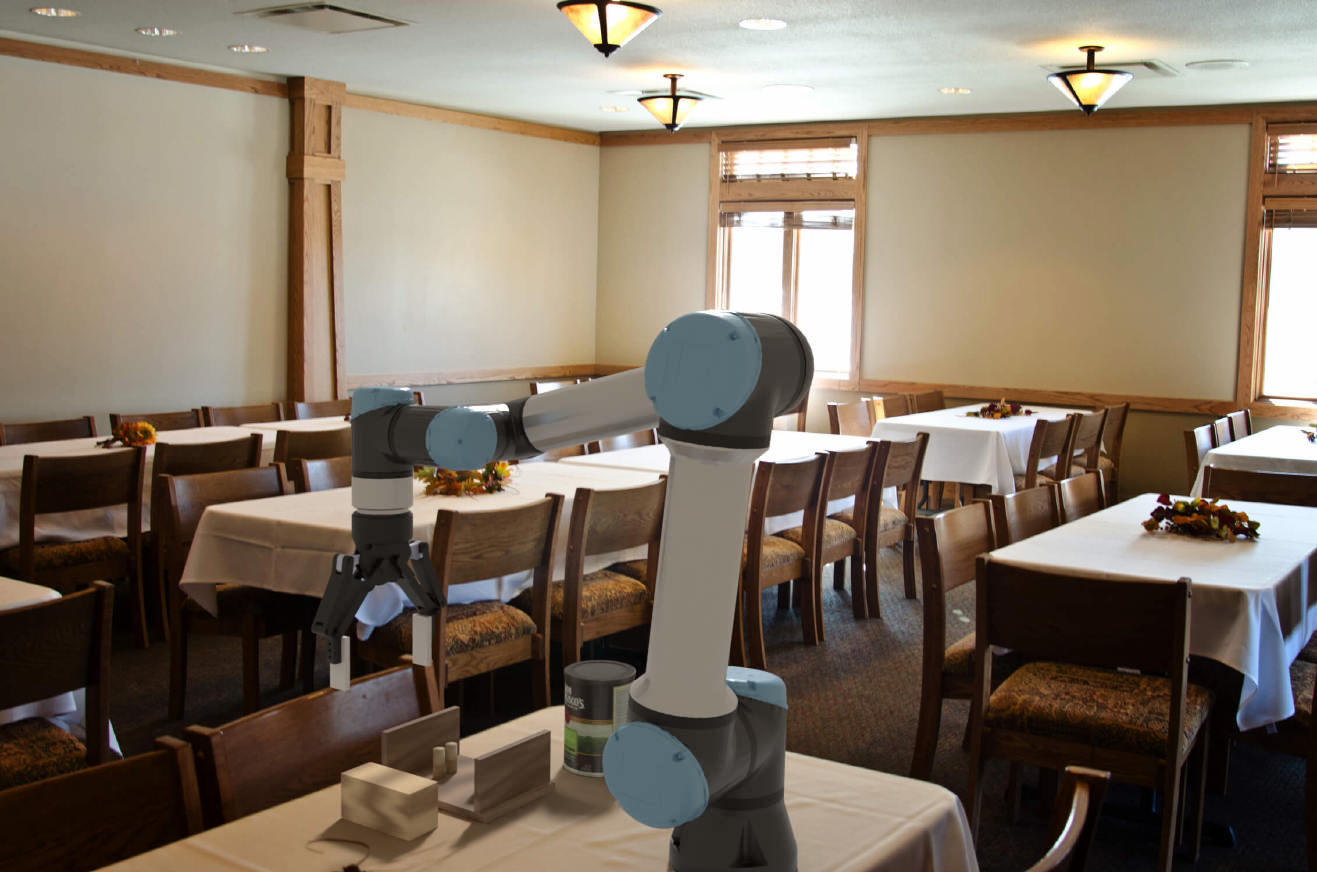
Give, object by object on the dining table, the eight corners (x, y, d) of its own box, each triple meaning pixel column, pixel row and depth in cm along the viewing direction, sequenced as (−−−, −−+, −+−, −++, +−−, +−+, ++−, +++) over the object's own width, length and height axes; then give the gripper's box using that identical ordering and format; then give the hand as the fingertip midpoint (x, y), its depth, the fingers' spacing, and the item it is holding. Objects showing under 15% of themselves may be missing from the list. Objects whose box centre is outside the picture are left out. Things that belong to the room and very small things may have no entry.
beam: (437, 828, 148) (438, 781, 147) (409, 842, 143) (409, 794, 143) (370, 806, 154) (370, 761, 154) (341, 818, 150) (340, 773, 150)
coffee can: (578, 782, 163) (579, 682, 162) (553, 757, 173) (554, 663, 171) (645, 771, 168) (647, 675, 167) (617, 748, 177) (619, 656, 176)
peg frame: (555, 789, 161) (556, 732, 160) (485, 823, 149) (486, 761, 148) (449, 757, 172) (449, 704, 171) (376, 787, 160) (376, 729, 160)
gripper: (433, 496, 159) (433, 650, 161) (280, 517, 139) (281, 693, 141) (474, 502, 155) (473, 659, 157) (322, 524, 135) (322, 705, 137)
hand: (382, 676), depth 149 cm, fingers open, 13 cm apart
